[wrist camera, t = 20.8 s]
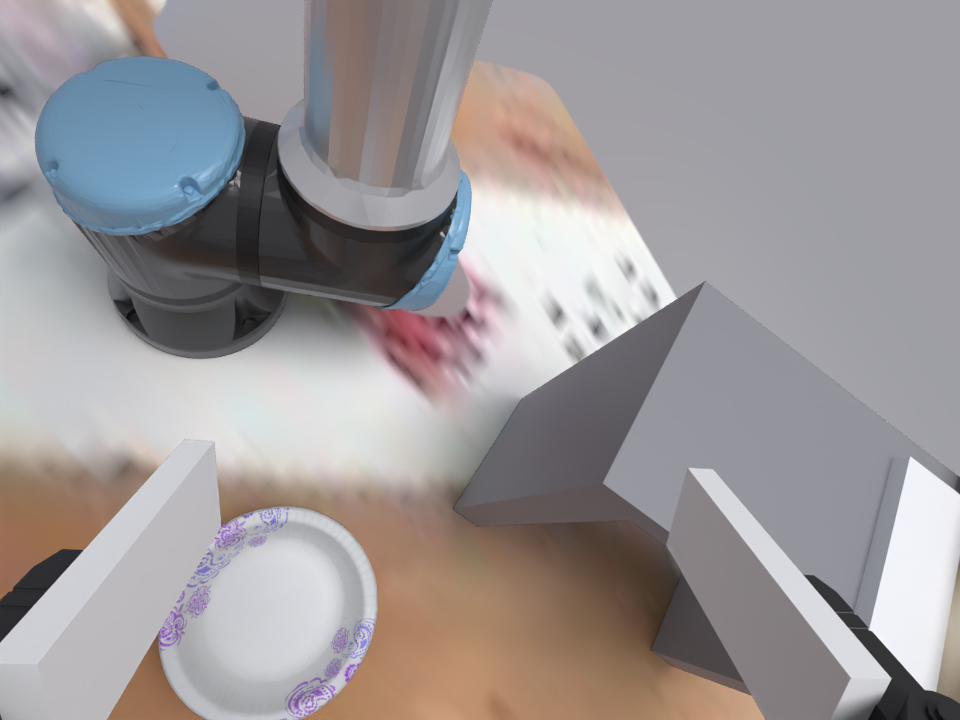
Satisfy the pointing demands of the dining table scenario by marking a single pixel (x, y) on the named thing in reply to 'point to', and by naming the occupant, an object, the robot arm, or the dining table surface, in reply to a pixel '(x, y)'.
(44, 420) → the dining table surface
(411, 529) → the dining table surface
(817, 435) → the scale shelf
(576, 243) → the dining table surface
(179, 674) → the paper bowls
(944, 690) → the beech bar
